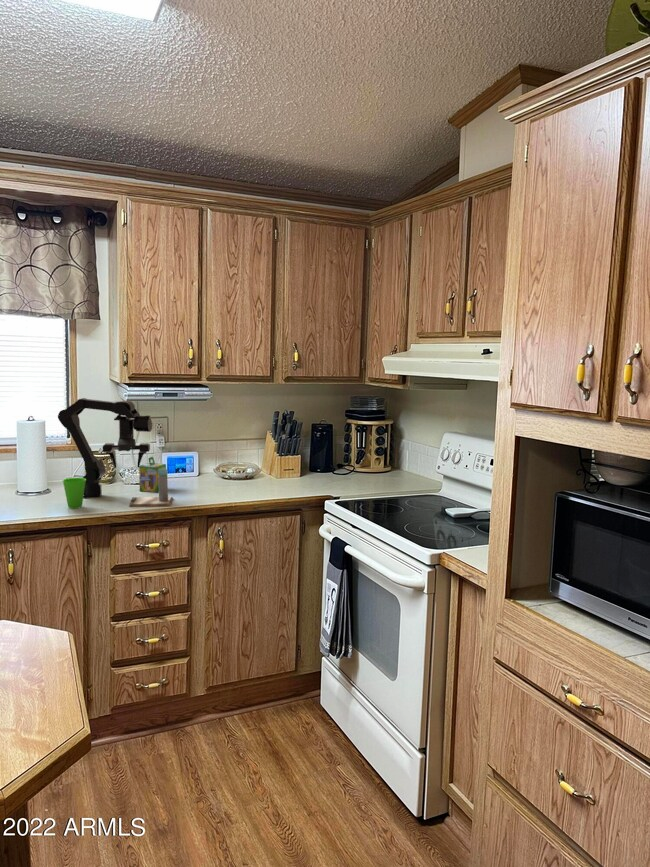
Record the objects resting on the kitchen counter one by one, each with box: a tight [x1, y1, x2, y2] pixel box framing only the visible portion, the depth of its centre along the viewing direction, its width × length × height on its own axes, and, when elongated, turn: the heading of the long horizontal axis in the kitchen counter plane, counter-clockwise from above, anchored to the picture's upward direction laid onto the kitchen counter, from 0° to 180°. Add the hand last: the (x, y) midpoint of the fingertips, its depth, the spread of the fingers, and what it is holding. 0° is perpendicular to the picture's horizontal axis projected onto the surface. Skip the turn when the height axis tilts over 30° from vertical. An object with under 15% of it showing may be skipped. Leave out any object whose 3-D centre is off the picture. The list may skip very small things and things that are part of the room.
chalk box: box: [138, 456, 167, 493], centre depth 294 cm, size 9×9×15 cm
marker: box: [158, 468, 169, 502], centre depth 270 cm, size 4×4×13 cm
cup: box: [61, 477, 86, 509], centre depth 261 cm, size 9×9×11 cm
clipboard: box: [128, 496, 173, 508], centre depth 272 cm, size 16×13×2 cm
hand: (127, 467), depth 277 cm, fingers open, 9 cm apart
